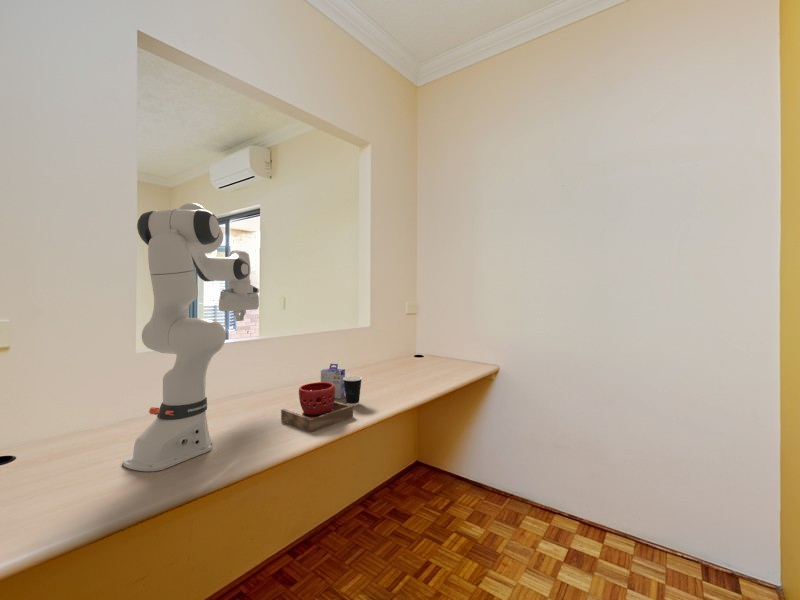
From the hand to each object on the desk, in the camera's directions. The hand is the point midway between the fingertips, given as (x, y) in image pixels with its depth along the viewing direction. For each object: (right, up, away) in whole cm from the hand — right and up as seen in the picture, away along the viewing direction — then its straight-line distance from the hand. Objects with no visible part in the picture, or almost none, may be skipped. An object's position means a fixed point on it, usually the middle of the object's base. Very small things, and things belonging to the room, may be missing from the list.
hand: (239, 321), depth 159 cm
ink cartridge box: (+39, -34, +5) cm, 53 cm away
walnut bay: (+38, -35, -23) cm, 57 cm away
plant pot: (+38, -35, -22) cm, 56 cm away
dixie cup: (+50, -35, -5) cm, 61 cm away
